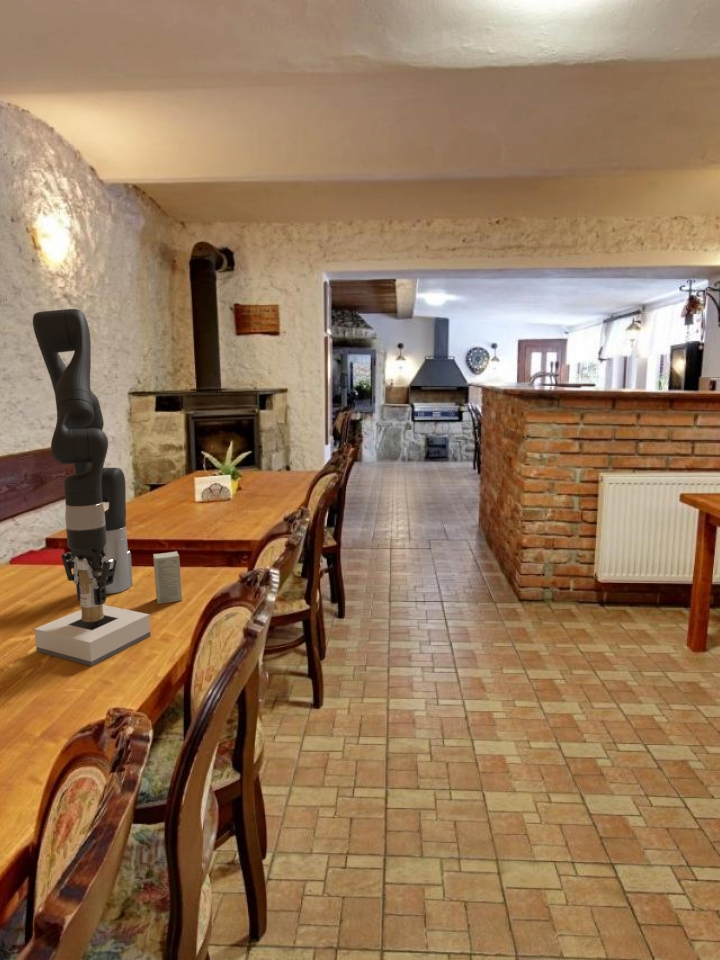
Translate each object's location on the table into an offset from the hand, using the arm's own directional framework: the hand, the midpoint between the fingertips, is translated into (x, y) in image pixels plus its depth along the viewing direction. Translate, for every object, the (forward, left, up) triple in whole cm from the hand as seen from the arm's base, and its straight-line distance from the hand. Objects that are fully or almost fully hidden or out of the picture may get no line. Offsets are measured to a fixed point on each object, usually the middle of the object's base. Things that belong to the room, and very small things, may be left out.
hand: (91, 601), depth 129 cm
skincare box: (-27, -4, -10) cm, 29 cm away
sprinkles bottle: (0, 0, -4) cm, 4 cm away
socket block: (0, 0, -9) cm, 9 cm away
